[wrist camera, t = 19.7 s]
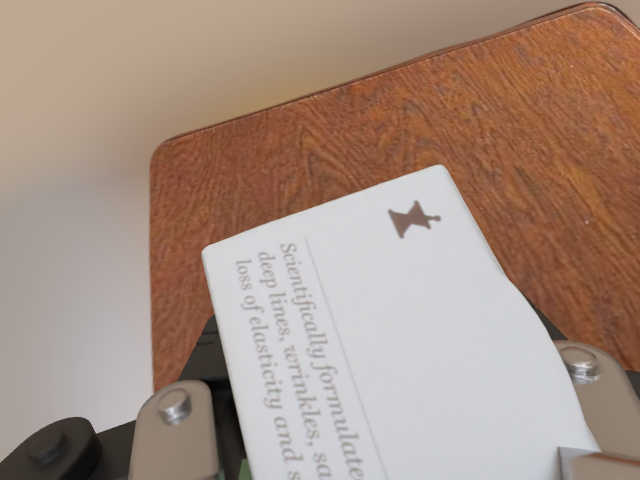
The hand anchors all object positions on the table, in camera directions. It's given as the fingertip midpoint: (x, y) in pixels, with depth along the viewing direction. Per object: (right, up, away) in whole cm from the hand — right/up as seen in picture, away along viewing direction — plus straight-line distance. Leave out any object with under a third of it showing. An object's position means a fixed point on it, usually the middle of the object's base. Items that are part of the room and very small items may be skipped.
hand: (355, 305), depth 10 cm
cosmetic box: (+1, -5, +5) cm, 7 cm away
